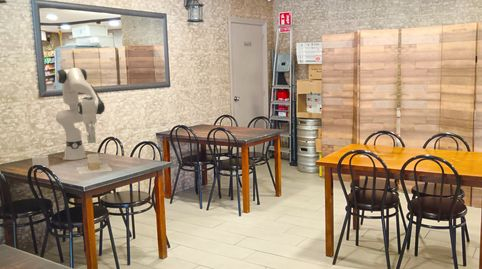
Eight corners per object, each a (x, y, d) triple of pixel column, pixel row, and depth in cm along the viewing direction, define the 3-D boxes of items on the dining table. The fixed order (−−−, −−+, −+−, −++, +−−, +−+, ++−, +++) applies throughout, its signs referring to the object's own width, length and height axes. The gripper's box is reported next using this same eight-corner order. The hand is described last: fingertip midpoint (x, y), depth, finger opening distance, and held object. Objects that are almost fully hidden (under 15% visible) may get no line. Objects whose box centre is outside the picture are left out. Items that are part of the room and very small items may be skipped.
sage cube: (87, 142, 334) (87, 135, 334) (94, 141, 336) (94, 134, 336) (88, 143, 330) (87, 136, 329) (95, 142, 332) (95, 135, 331)
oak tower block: (88, 168, 338) (87, 161, 337) (98, 167, 341) (97, 160, 340) (89, 170, 332) (88, 163, 331) (99, 169, 334) (99, 162, 334)
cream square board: (76, 168, 343) (75, 167, 343) (107, 164, 352) (107, 163, 351) (79, 175, 321) (79, 174, 321) (112, 171, 330) (112, 170, 330)
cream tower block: (87, 161, 337) (87, 154, 336) (97, 160, 340) (97, 153, 339) (88, 163, 331) (88, 156, 330) (99, 162, 334) (98, 155, 333)
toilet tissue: (35, 173, 331) (33, 159, 330) (31, 170, 341) (29, 156, 339) (51, 170, 337) (50, 156, 336) (46, 167, 347) (45, 154, 345)
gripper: (96, 121, 323) (98, 141, 325) (92, 118, 341) (94, 137, 343) (86, 122, 320) (88, 142, 322) (83, 119, 339) (85, 138, 341)
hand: (91, 140), depth 333 cm, fingers closed on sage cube, 5 cm apart
